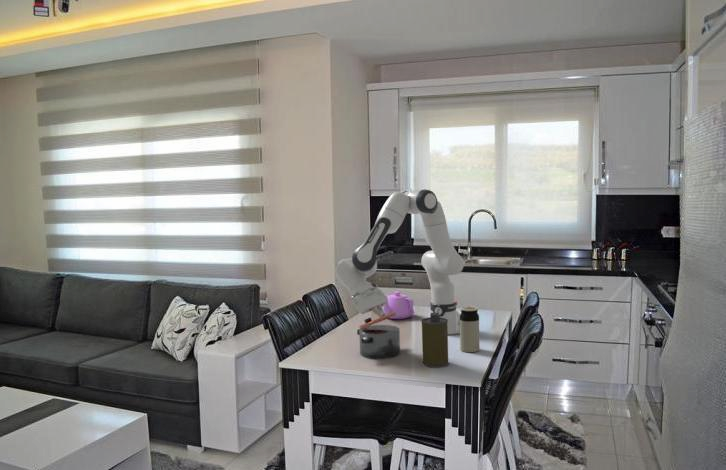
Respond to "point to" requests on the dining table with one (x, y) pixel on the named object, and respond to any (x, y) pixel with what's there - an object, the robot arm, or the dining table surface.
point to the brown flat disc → (376, 320)
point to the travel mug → (469, 329)
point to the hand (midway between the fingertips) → (383, 315)
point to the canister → (435, 341)
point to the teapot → (399, 306)
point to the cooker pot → (379, 341)
